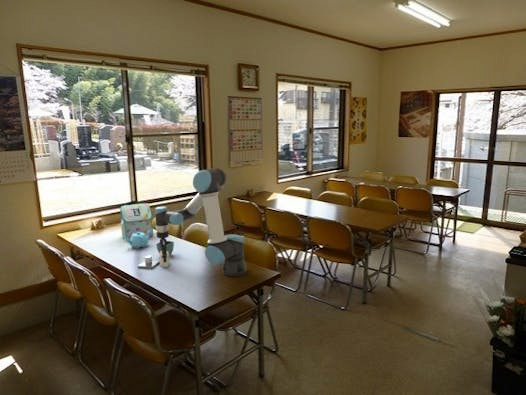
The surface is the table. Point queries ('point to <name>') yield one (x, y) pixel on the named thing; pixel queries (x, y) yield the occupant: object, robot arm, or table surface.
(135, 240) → the teapot
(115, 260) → the table surface
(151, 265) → the hub
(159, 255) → the knob
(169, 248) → the flower pot
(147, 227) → the lunch bag
